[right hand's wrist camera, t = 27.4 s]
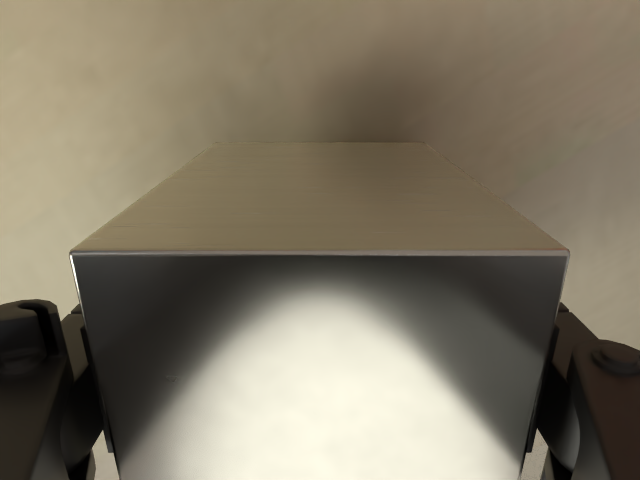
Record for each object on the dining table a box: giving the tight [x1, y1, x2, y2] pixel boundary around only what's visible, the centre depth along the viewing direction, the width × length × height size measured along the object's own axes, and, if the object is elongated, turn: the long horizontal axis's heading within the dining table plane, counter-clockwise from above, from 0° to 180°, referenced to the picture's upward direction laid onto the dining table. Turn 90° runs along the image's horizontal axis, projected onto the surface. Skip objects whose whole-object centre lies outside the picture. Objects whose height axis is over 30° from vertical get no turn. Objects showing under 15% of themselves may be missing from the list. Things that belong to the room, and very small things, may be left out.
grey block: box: [69, 142, 570, 480], centre depth 11 cm, size 6×7×8 cm
